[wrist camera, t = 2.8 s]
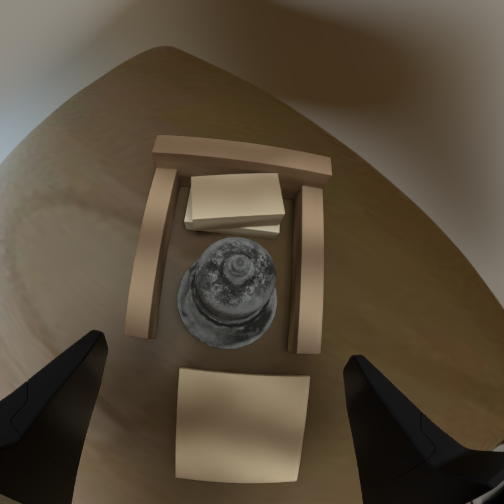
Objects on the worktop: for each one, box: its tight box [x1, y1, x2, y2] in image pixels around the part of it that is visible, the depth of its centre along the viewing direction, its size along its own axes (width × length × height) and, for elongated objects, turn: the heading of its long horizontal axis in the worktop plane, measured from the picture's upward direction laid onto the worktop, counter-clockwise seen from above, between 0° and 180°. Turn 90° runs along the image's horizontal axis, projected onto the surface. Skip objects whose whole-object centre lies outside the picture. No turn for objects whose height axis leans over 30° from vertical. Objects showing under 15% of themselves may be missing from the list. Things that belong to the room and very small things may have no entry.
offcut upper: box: [191, 173, 285, 231], centre depth 19 cm, size 3×6×2 cm, turn 96°
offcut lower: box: [184, 189, 280, 240], centre depth 21 cm, size 4×7×2 cm, turn 85°
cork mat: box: [176, 367, 310, 483], centre depth 16 cm, size 9×9×1 cm
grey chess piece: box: [177, 237, 277, 349], centre depth 14 cm, size 6×6×12 cm
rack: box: [124, 135, 332, 354], centre depth 18 cm, size 14×13×4 cm
